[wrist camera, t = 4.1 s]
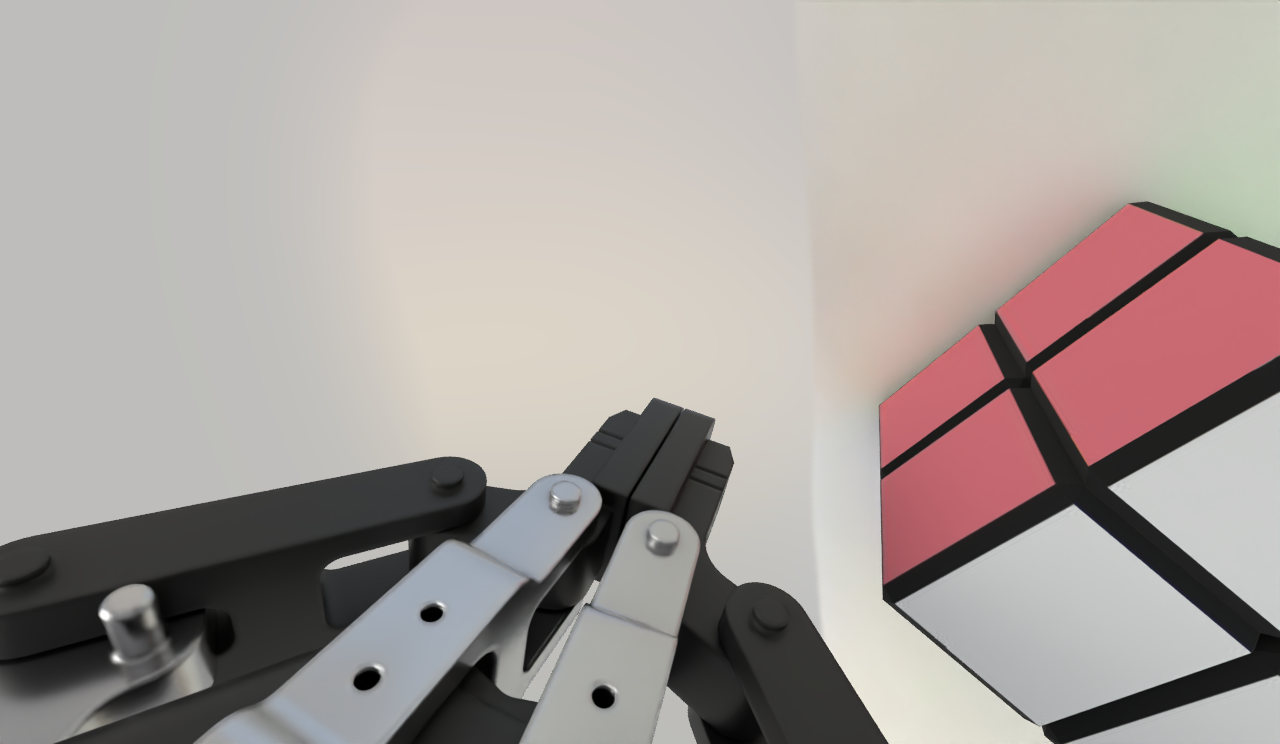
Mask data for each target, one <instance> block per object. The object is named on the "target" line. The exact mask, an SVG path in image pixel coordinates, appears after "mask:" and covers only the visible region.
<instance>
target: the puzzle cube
mask: <svg viewBox="0 0 1280 744" xmlns="http://www.w3.org/2000/svg"><path fill="white" fill-rule="evenodd" d="M879 431H880V476H881V480H880V493H881V540H882V587H883V600H884V601H885V602H886V603H888V604H889V605H890V606H891V607H892V608H894V609H895V610H896V611H897V612H898V613H899V614H901V615H902V616H903V617H904V618H905V619H907V620H908V621H909V622H910V623H911V624H913V625H914V626H915V627H916V628H917V629H918V630H920V631H921V632H922V633H923V634H924V635H926V636H927V637H928V638H929V639H930V640H932V641H933V642H934V643H935V644H936V645H937V646H939V647H940V648H941V649H942V650H943V651H945V652H946V653H947V654H948V655H949V656H951V657H952V658H953V659H954V660H955V661H956V662H958V663H959V664H960V665H961V666H962V667H964V668H965V669H966V670H967V671H968V672H970V673H971V674H972V675H973V676H974V677H975V678H977V679H978V680H979V681H980V682H981V683H983V684H984V685H985V686H986V687H987V688H989V689H990V690H991V691H992V692H993V693H994V694H996V695H997V696H998V697H999V698H1000V699H1002V700H1003V701H1004V702H1005V703H1006V704H1008V705H1009V706H1010V707H1011V708H1012V709H1013V710H1015V711H1016V712H1017V713H1018V714H1019V715H1021V716H1022V717H1023V718H1024V719H1026V720H1028V721H1030V722H1032V723H1034V724H1036V725H1038V726H1042V728H1043V732H1044V736H1046V737H1047V738H1048V739H1049V740H1050V741H1051V742H1053V743H1054V744H1280V248H1277V247H1274V246H1271V245H1268V244H1266V243H1263V242H1260V241H1257V240H1254V239H1252V238H1249V237H1237V236H1236V235H1235V234H1233V233H1232V232H1231V231H1229V230H1227V229H1224V228H1221V227H1218V226H1215V225H1213V224H1210V223H1207V222H1204V221H1201V220H1199V219H1196V218H1193V217H1190V216H1187V215H1184V214H1182V213H1179V212H1176V211H1173V210H1170V209H1168V208H1165V207H1162V206H1159V205H1156V204H1153V203H1151V202H1138V203H1128V204H1127V205H1126V206H1125V207H1123V208H1122V209H1121V210H1120V211H1118V212H1117V213H1116V214H1115V215H1113V216H1112V217H1111V218H1110V219H1108V220H1107V221H1106V222H1105V223H1104V224H1102V225H1101V226H1100V227H1099V228H1097V229H1096V230H1095V231H1094V232H1092V233H1091V234H1090V235H1089V236H1088V237H1086V238H1085V239H1084V240H1083V241H1081V242H1080V243H1079V244H1078V245H1076V246H1075V247H1074V248H1073V249H1072V250H1070V251H1069V252H1068V253H1067V254H1065V255H1064V256H1063V257H1062V258H1060V259H1059V260H1058V261H1057V262H1056V263H1054V264H1053V265H1052V266H1051V267H1049V268H1048V269H1047V270H1046V271H1044V272H1043V273H1042V274H1041V275H1040V276H1038V277H1037V278H1036V279H1035V280H1033V281H1032V282H1031V283H1030V284H1028V285H1027V286H1026V287H1025V288H1023V289H1022V290H1021V291H1020V292H1019V293H1017V294H1016V295H1015V296H1014V297H1012V298H1011V299H1010V300H1009V301H1007V302H1006V303H1005V304H1004V305H1003V306H1001V307H1000V308H999V309H998V310H996V313H995V324H985V325H978V326H977V327H975V328H974V329H973V330H972V331H971V332H969V333H968V334H967V335H966V336H964V337H963V338H962V339H961V340H959V341H958V342H957V343H956V344H954V345H953V346H952V347H951V348H950V349H948V350H947V351H946V352H945V353H943V354H942V355H941V356H940V357H938V358H937V359H936V360H935V361H934V362H932V363H931V364H930V365H929V366H927V367H926V368H925V369H924V370H922V371H921V372H920V373H919V374H918V375H916V376H915V377H914V378H913V379H911V380H910V381H909V382H908V383H906V384H905V385H904V386H903V387H902V388H900V389H899V390H898V391H897V392H895V393H894V394H893V395H892V396H890V397H889V398H888V399H887V400H886V401H884V402H883V403H882V404H881V405H879Z"/></svg>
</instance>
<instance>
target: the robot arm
mask: <svg viewBox="0 0 1280 744" xmlns="http://www.w3.org/2000/svg"><path fill="white" fill-rule="evenodd" d="M714 424H715V419H714V418H711V417H708V416H705V415H703V414H700V413H697V412H694V411H691V410H688V409H685V410H684V408H682V407H679V406H677V405H674V404H671V403H668V402H665V401H662V400H659V399H656V398H653V399H652V400H651V402H650V403H649V404H648V406H647V407H646V408H645V410H644V411H643V412H642V414H641V415H639V414H636V413H633V412H631V411H628V410H625V411H622V412H620V413H618V414H616V415H613V416H611V417H609V418H608V419H607V420H606V422H605V423H604V424H603V425H602V426H601V428H600V429H599V431H598V432H597V433H596V434H595V435H594V436H593V437H592V438H591V441H589V442H588V443H587V445H586V446H585V447H584V448H583V449H582V450H581V452H580V453H579V454H578V455H577V456H576V458H575V459H574V460H573V461H572V462H571V464H570V465H569V466H568V467H567V468H566V470H565V471H564V472H563V473H562V474H552V475H548V476H545V477H542V478H540V479H539V480H537V481H536V482H534V483H533V484H532V485H531V486H530V487H529V488H528V489H527V490H511V489H503V488H497V487H490V486H486V483H487V480H486V474H485V472H484V471H483V469H482V468H481V467H480V466H479V465H478V464H476V463H474V462H472V461H470V460H467V459H464V458H459V457H440V458H434V459H429V460H424V461H419V462H413V463H408V464H403V465H398V466H393V467H387V468H382V469H377V470H372V471H367V472H362V473H357V474H351V475H346V476H341V477H336V478H331V479H325V480H321V481H315V482H310V483H305V484H300V485H295V486H289V487H284V488H279V489H274V490H269V491H264V492H259V493H253V494H248V495H243V496H238V497H232V498H227V499H222V500H217V501H212V502H207V503H201V504H196V505H191V506H186V507H181V508H176V509H171V510H165V511H160V512H155V513H150V514H145V515H140V516H135V517H129V518H124V519H119V520H114V521H109V522H103V523H99V524H94V525H88V526H83V527H78V528H72V529H68V530H63V531H57V532H52V533H47V534H41V535H36V536H32V537H28V538H23V539H20V540H17V541H13V542H10V543H8V544H5V545H2V546H0V744H652V740H653V737H654V732H655V729H656V725H657V721H658V717H659V713H660V709H661V705H662V702H663V698H664V694H665V690H666V686H668V687H669V688H670V689H671V690H672V691H673V692H674V693H675V694H676V695H677V696H679V697H680V698H681V699H682V700H683V701H684V702H685V703H686V704H687V705H688V718H689V722H690V726H691V728H692V731H693V734H694V737H695V739H696V742H697V744H888V742H887V740H886V739H885V737H884V736H883V734H882V733H881V731H880V729H879V728H878V726H877V725H876V723H875V721H874V720H873V718H872V717H871V715H870V713H869V712H868V710H867V709H866V707H865V706H864V704H863V702H862V701H861V699H860V698H859V696H858V694H857V693H856V691H855V690H854V688H853V687H852V685H851V683H850V682H849V680H848V679H847V677H846V675H845V674H844V672H843V671H842V669H841V667H840V666H839V664H838V663H837V661H836V660H835V658H834V656H833V655H832V653H831V652H830V650H829V648H828V647H827V645H826V644H825V642H824V641H823V639H822V637H821V636H820V634H819V633H818V631H817V629H816V628H815V626H814V625H813V623H812V621H811V620H810V619H809V617H808V615H807V614H806V612H805V611H804V609H803V608H802V607H801V605H800V604H799V603H798V602H797V601H796V600H795V599H794V598H793V597H791V596H790V595H789V594H787V593H786V592H784V591H783V590H781V589H779V588H777V587H774V586H772V585H769V584H765V583H758V582H752V583H745V584H742V585H740V586H736V585H735V584H734V583H732V582H731V581H730V580H728V579H727V578H726V577H725V576H723V575H722V574H721V573H720V572H719V571H718V570H717V569H716V568H715V566H714V565H713V564H712V562H711V560H710V559H709V557H708V554H707V551H706V543H707V540H708V537H709V535H710V532H711V529H712V527H713V524H714V521H715V518H716V516H717V513H718V510H719V507H720V504H721V501H722V498H723V495H724V492H725V489H726V486H727V483H728V479H729V477H730V473H731V471H732V467H733V464H734V461H733V457H732V454H731V450H730V447H728V446H725V445H723V444H720V443H717V442H714V441H711V440H710V438H711V434H712V431H713V427H714ZM406 540H408V541H409V550H406V551H402V552H399V553H395V554H391V555H387V556H384V557H380V558H376V559H373V560H369V561H366V562H362V563H358V564H354V565H351V566H347V567H343V568H340V569H334V570H327V569H324V568H325V567H326V566H327V565H328V564H330V563H331V562H333V561H335V560H337V559H339V558H342V557H345V556H349V555H353V554H357V553H361V552H365V551H368V550H372V549H376V548H380V547H384V546H387V545H391V544H395V543H399V542H403V541H406ZM594 580H597V581H599V582H600V583H599V586H598V588H597V590H596V593H595V595H594V597H593V599H592V601H591V603H590V604H588V603H586V604H585V605H584V606H583V608H582V610H581V611H580V609H581V606H582V602H583V598H584V596H585V595H586V593H587V592H588V590H589V588H590V586H591V585H592V583H593V581H594ZM579 611H580V613H579ZM578 613H579V615H578ZM577 615H578V617H577V619H576V622H575V624H574V626H573V628H572V630H571V632H570V635H569V637H568V639H567V641H566V643H565V645H564V647H563V650H562V652H561V654H560V656H559V659H558V661H557V663H556V665H555V667H554V669H553V671H552V673H551V676H550V678H549V680H548V682H547V684H546V687H545V689H544V691H543V693H542V695H541V697H540V699H539V702H534V701H528V700H523V699H522V697H523V695H524V693H525V691H526V689H527V688H528V686H529V684H530V683H531V681H532V680H533V678H534V677H535V676H536V674H537V672H538V671H539V670H540V668H541V667H542V665H543V664H544V662H545V661H546V660H547V658H548V657H549V655H550V654H551V652H552V651H553V649H554V648H555V646H556V645H557V644H558V642H559V641H560V639H561V638H562V636H563V635H564V633H565V632H566V630H567V629H568V627H569V626H570V625H571V623H572V622H573V620H574V619H575V617H576V616H577Z"/></svg>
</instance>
